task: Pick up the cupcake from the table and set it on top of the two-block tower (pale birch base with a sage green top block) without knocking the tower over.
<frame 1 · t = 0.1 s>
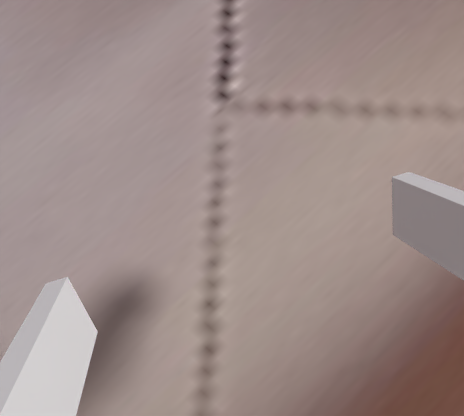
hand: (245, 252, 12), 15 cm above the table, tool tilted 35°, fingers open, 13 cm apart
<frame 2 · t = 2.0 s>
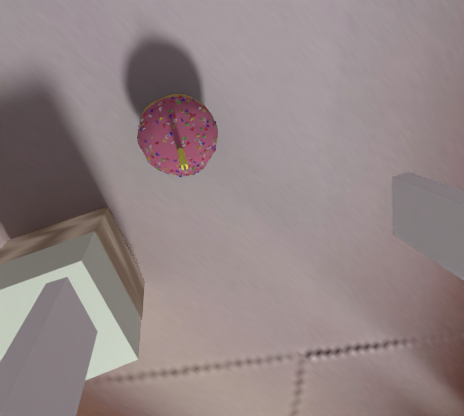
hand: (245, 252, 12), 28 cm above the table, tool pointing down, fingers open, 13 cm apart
tower base: (82, 261, 40), on the table, touching tower top
cupcake: (175, 131, 37), on the table
tower top: (64, 298, 33), point 8 cm above the table, touching tower base
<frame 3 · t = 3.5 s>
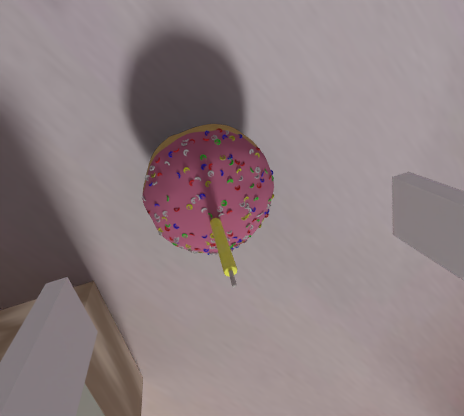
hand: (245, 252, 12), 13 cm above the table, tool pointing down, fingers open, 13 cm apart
tower base: (53, 355, 27), on the table
cupcake: (201, 174, 24), on the table
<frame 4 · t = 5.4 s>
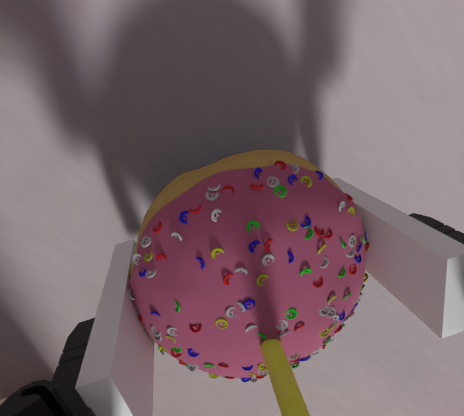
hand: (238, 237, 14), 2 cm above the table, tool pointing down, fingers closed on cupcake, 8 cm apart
cupcake: (226, 219, 15), on the table, touching gripper
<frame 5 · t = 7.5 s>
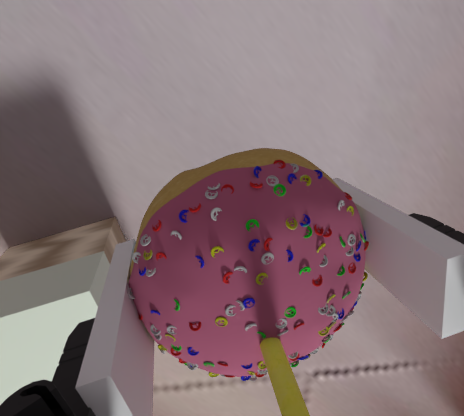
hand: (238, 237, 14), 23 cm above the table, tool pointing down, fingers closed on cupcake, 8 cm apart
tower base: (85, 273, 38), on the table, touching tower top
cupcake: (226, 218, 15), point 21 cm above the table, touching gripper
tower top: (66, 319, 30), point 8 cm above the table, touching tower base
when the fingers open (17 cm above the table, at t = 12.1 s): cupcake drops 1 cm, resting on tower top.
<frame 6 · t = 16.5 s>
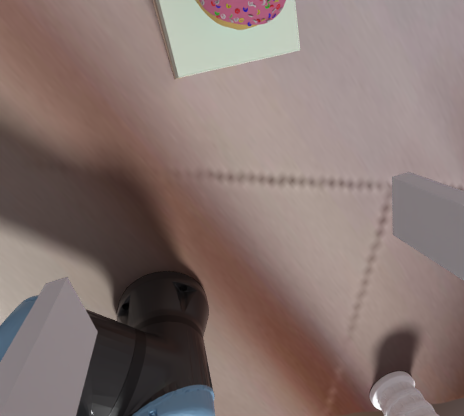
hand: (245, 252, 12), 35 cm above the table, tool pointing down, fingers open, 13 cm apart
tower top: (216, 4, 32), point 8 cm above the table, touching cupcake, tower base
decorative container: (389, 387, 77), on the table
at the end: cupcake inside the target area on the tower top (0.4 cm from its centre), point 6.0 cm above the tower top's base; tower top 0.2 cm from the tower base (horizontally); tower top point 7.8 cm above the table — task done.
